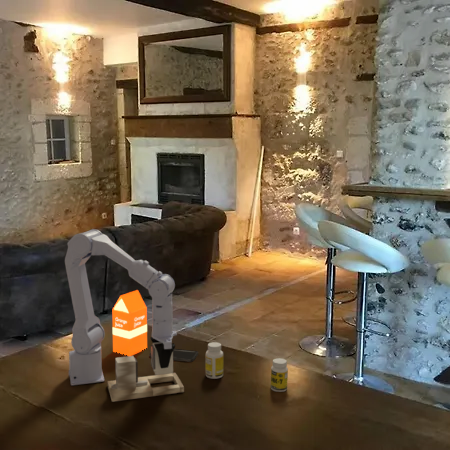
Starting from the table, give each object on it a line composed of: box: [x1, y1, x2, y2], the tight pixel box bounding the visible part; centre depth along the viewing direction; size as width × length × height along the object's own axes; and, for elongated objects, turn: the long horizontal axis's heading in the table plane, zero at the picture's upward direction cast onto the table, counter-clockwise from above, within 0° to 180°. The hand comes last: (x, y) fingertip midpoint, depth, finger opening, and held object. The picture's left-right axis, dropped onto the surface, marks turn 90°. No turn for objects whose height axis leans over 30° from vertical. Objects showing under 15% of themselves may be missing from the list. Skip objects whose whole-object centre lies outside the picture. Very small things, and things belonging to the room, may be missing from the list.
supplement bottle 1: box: [205, 341, 224, 380], centre depth 164 cm, size 5×5×10 cm
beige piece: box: [107, 355, 185, 402], centre depth 154 cm, size 20×10×10 cm, turn 109°
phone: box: [149, 348, 199, 363], centre depth 180 cm, size 8×1×15 cm
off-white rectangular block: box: [150, 342, 174, 375], centre depth 155 cm, size 6×4×8 cm
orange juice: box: [111, 289, 148, 357], centre depth 183 cm, size 8×9×20 cm
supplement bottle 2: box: [270, 357, 289, 393], centre depth 155 cm, size 5×5×8 cm
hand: (162, 364), depth 155 cm, fingers closed on off-white rectangular block, 4 cm apart
